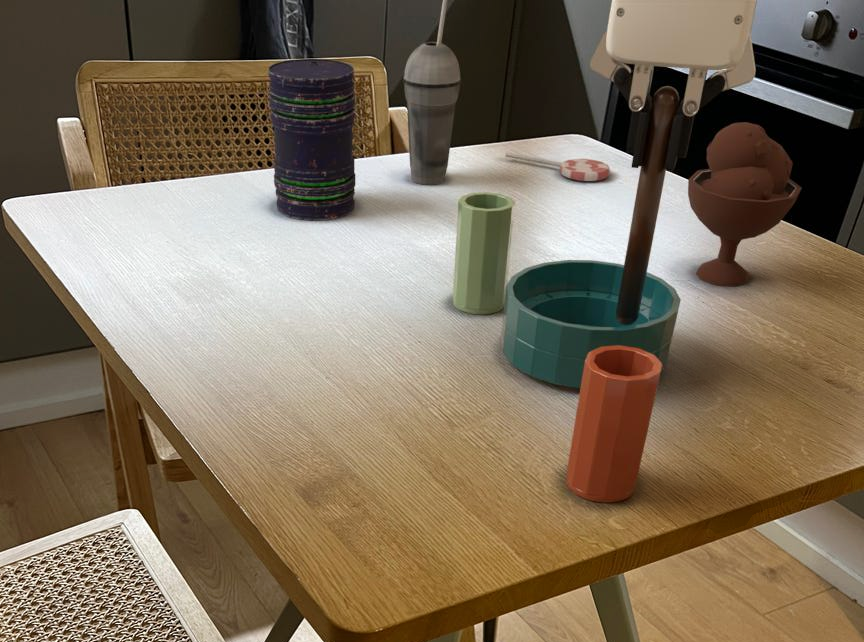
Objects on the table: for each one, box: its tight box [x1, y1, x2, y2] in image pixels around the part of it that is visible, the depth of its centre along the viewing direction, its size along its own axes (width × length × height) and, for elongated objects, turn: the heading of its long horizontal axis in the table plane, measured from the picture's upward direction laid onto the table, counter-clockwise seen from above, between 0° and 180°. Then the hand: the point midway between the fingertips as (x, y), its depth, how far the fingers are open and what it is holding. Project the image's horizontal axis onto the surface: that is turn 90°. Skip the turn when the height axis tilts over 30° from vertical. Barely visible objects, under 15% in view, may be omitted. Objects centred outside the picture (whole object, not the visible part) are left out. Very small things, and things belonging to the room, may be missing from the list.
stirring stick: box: [616, 85, 680, 326], centre depth 80 cm, size 2×2×19 cm
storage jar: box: [267, 58, 356, 221], centre depth 114 cm, size 10×10×15 cm
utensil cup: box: [565, 345, 662, 504], centre depth 71 cm, size 5×5×10 cm
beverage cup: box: [402, 0, 462, 186], centre depth 120 cm, size 7×7×20 cm
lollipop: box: [505, 151, 611, 182], centre depth 130 cm, size 7×1×15 cm
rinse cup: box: [452, 191, 516, 315], centre depth 95 cm, size 5×5×10 cm
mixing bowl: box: [500, 259, 682, 389], centre depth 88 cm, size 15×15×6 cm
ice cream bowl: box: [687, 121, 802, 287], centre depth 99 cm, size 11×11×15 cm
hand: (654, 162), depth 78 cm, fingers closed on stirring stick, 2 cm apart
